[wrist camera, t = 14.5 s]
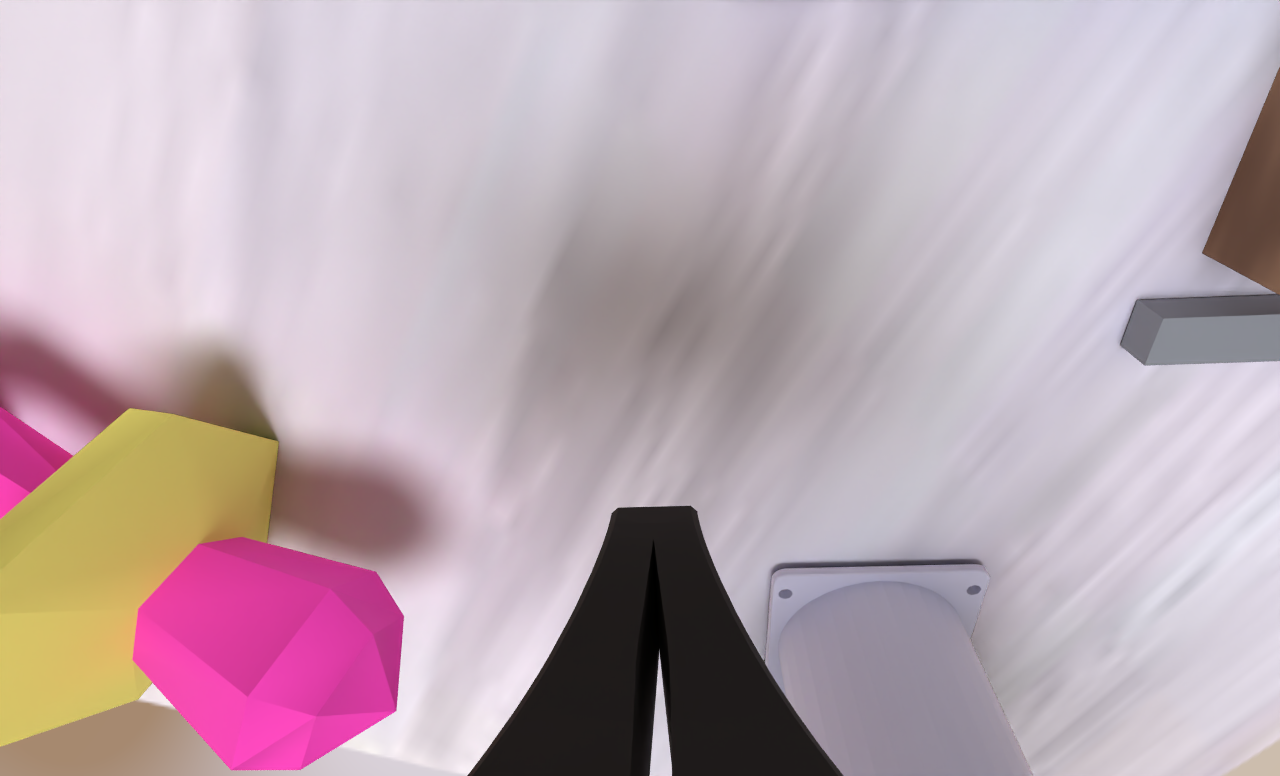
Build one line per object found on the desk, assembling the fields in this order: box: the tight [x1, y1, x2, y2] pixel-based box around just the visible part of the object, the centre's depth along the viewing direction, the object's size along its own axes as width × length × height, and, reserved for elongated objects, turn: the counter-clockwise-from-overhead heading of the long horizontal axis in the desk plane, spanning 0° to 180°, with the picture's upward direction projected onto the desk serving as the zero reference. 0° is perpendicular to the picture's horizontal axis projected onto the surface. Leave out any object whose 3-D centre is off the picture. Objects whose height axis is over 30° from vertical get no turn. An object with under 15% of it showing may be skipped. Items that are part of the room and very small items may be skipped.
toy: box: [0, 407, 404, 770], centre depth 20 cm, size 10×18×10 cm, turn 69°
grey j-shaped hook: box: [1121, 295, 1280, 365], centre depth 16 cm, size 12×21×3 cm, turn 93°
